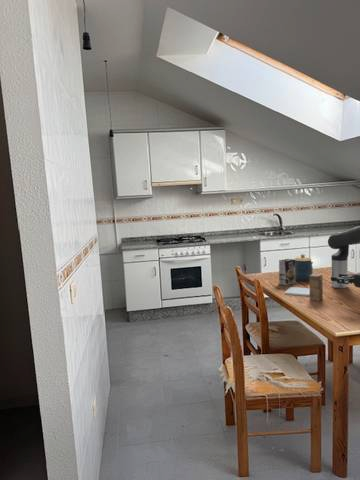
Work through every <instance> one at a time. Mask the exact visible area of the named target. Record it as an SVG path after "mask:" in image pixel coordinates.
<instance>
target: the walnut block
mask: <svg viewBox="0 0 360 480" xmlns="http://www.w3.org/2000/svg"><path fill="white" fill-rule="evenodd" d="M309 280H310V281H309V288H310V295H309V300H310V301H316V302H319V301H321V300H323V295H324V293H323V286H324V285H323V274H318V273H313V274H312V275H309Z"/></svg>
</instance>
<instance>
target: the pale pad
mask: <svg viewBox="0 0 360 480" xmlns="http://www.w3.org/2000/svg"><path fill="white" fill-rule="evenodd" d="M284 295H291V296H302V297H310V287H308V288H307V287H306V288H305V287H295V286H294V287H293V286H290V287H288V289H286V290H285V292H284Z"/></svg>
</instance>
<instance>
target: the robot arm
mask: <svg viewBox="0 0 360 480" xmlns="http://www.w3.org/2000/svg"><path fill="white" fill-rule="evenodd" d="M358 244H360V225H358V226H355V227H352V228H350V229H347V230H345V231H342V232H341V233H335V234H331V235H330V236H329V237H328V240H327V245H328V247H329V248H331V249H332V250H337V252H335V253H333V254H331V276H330V281H331V287H332V288H336V289H347V288H348V286H349V284H351V285H352V284H353V285H354V287H355V288H358V289H360V272H356V273H354V274H353V273H349V272H348V271H349V270H348V265H349V263H348V257H349V254H350V253H349V251H350V246H351V245H352V246H353V245H358Z"/></svg>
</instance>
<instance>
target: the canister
mask: <svg viewBox="0 0 360 480" xmlns="http://www.w3.org/2000/svg"><path fill="white" fill-rule="evenodd" d="M294 260H295V281H298V282H310V280H309V275H312V274H314V273H313V271H314V270H313V269H314V267H313V264H314V262H313V261H312V260H313V259H312V258H311V257H310V256H306V255H305V254H303V253H302V254H301V255H300V256H297V257H295V258H294Z"/></svg>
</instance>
